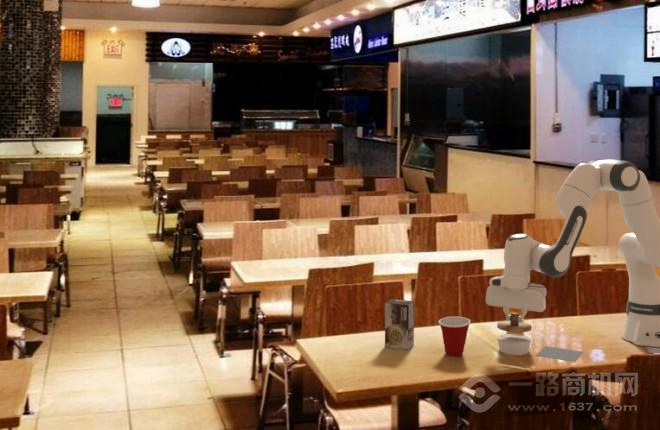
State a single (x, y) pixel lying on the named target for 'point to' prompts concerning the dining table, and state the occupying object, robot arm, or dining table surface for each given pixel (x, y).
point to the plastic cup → (454, 334)
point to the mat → (559, 353)
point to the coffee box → (399, 324)
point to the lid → (514, 325)
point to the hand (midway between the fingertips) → (514, 320)
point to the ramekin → (514, 344)
